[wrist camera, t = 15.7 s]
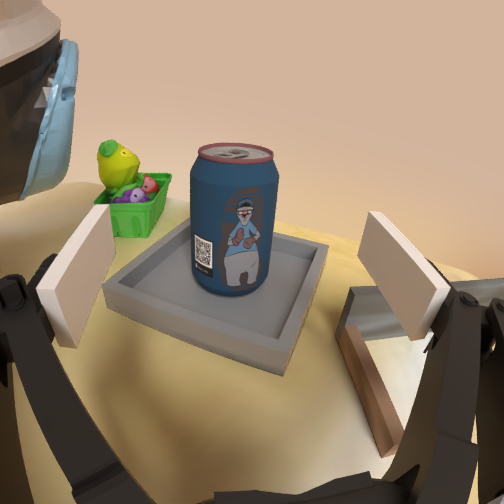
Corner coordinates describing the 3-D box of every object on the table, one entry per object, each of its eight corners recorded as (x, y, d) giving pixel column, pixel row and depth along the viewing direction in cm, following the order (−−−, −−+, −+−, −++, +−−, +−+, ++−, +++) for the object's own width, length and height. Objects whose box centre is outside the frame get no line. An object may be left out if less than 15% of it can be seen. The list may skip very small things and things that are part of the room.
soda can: (227, 252, 33) (232, 138, 27) (281, 279, 30) (298, 153, 24) (176, 279, 29) (171, 149, 22) (232, 315, 25) (240, 167, 19)
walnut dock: (549, 380, 18) (576, 344, 15) (381, 458, 15) (417, 420, 13) (498, 312, 28) (516, 276, 25) (334, 334, 25) (350, 286, 22)
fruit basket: (155, 244, 36) (150, 148, 30) (88, 241, 35) (76, 151, 29) (174, 205, 45) (173, 130, 40) (118, 204, 45) (113, 132, 39)
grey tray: (107, 307, 25) (101, 284, 24) (195, 232, 38) (194, 213, 37) (283, 376, 21) (288, 353, 20) (324, 265, 34) (329, 245, 33)
